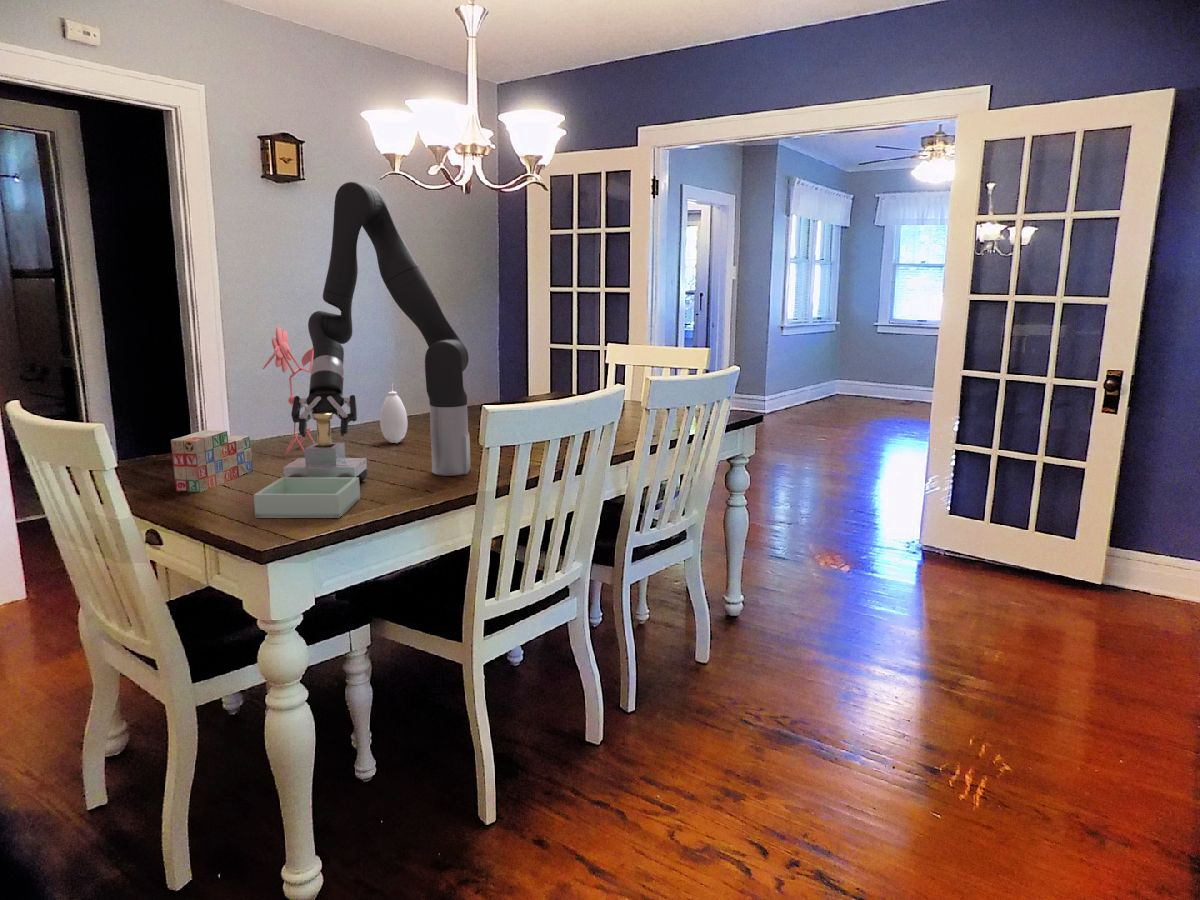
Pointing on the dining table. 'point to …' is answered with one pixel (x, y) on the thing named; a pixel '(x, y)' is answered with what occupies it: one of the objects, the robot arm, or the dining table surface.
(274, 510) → the tray
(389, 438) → the sauce bottle
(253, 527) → the dining table surface
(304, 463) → the trolley
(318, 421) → the pin
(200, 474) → the stack of blocks
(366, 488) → the dining table surface
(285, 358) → the figurine
